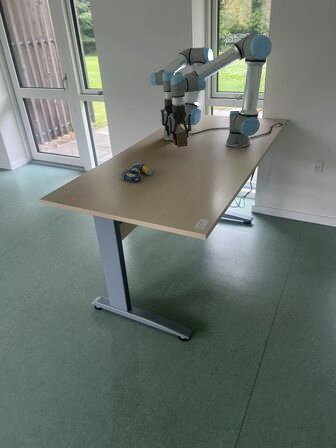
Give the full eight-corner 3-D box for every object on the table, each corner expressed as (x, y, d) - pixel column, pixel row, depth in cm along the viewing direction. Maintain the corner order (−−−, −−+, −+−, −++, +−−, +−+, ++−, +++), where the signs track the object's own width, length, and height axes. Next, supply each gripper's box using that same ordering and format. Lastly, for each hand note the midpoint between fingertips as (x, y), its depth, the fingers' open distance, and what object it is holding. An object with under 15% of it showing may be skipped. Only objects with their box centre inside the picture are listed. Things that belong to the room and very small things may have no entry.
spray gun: (158, 169, 197) (136, 167, 203) (157, 162, 194) (135, 160, 201) (140, 184, 181) (118, 182, 188) (139, 177, 179) (116, 175, 185)
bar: (167, 134, 223) (166, 121, 219) (175, 133, 224) (174, 120, 220) (178, 147, 200) (177, 133, 195) (187, 145, 201) (186, 131, 196)
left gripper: (156, 101, 203) (160, 138, 215) (186, 97, 207) (188, 134, 219) (154, 99, 210) (157, 135, 222) (182, 95, 213) (184, 131, 225)
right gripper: (164, 107, 187) (167, 147, 199) (196, 103, 190) (197, 143, 202) (161, 105, 193) (164, 144, 205) (192, 101, 196) (193, 139, 208)
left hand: (172, 134), depth 220 cm, fingers closed on bar, 6 cm apart
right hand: (181, 143), depth 203 cm, fingers closed on bar, 6 cm apart
